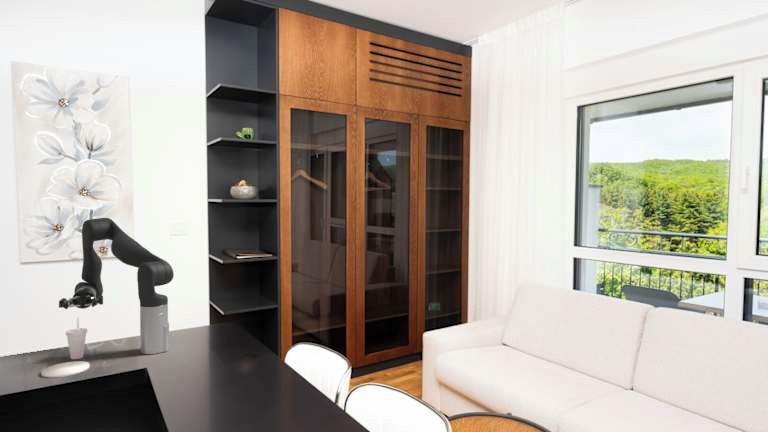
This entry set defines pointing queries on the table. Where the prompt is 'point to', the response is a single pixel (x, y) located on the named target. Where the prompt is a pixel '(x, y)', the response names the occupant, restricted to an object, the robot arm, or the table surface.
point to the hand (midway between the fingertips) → (79, 305)
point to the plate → (65, 369)
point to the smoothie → (76, 341)
